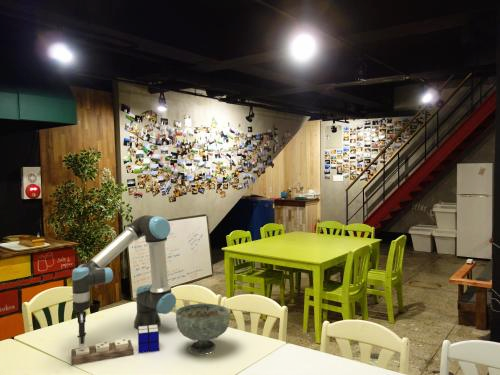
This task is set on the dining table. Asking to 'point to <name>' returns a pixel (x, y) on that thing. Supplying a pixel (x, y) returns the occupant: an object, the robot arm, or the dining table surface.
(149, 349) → the puzzle cube
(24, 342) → the dining table surface
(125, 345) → the tile two
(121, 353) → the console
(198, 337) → the decorative bowl
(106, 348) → the tile three
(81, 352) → the tile one
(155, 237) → the robot arm
